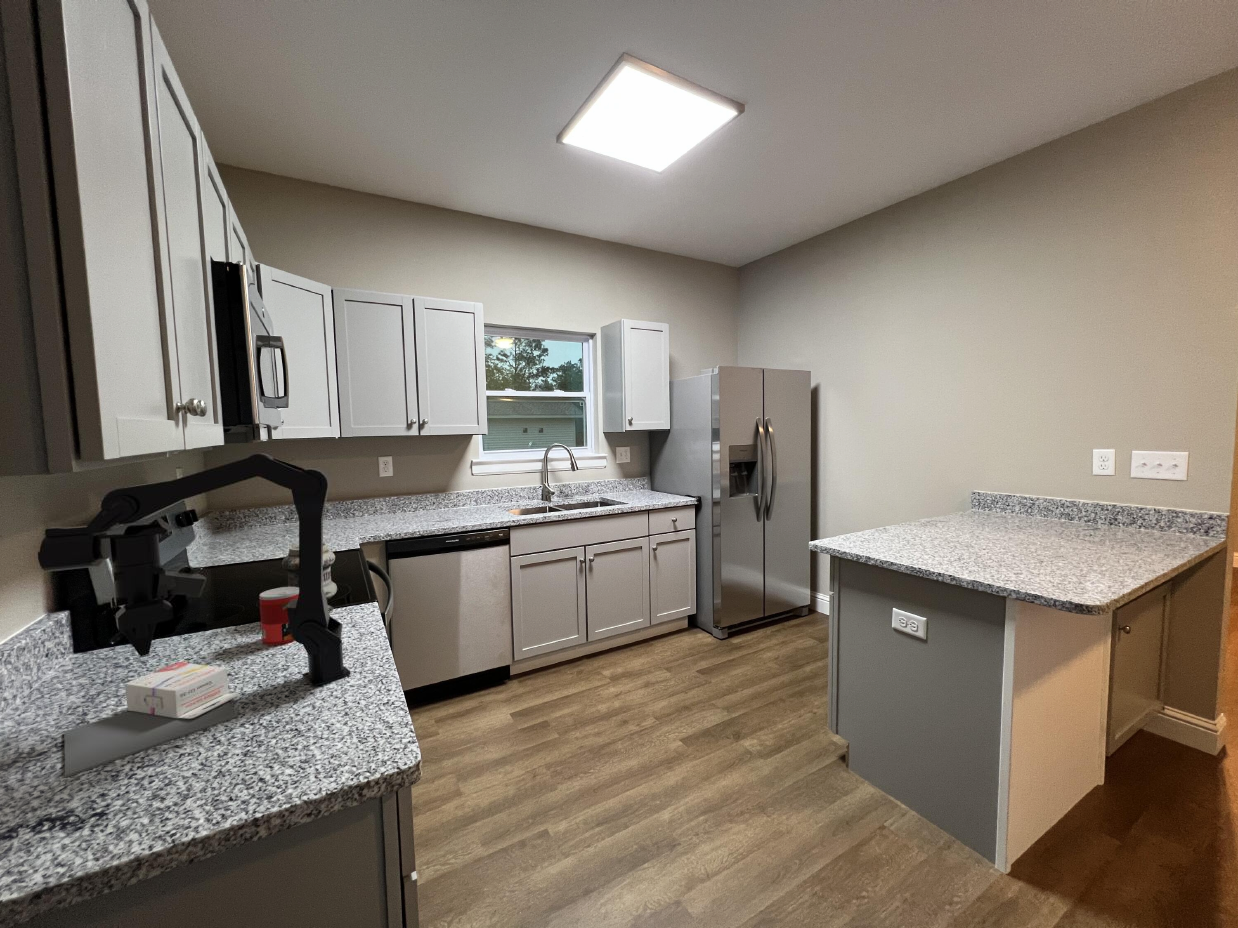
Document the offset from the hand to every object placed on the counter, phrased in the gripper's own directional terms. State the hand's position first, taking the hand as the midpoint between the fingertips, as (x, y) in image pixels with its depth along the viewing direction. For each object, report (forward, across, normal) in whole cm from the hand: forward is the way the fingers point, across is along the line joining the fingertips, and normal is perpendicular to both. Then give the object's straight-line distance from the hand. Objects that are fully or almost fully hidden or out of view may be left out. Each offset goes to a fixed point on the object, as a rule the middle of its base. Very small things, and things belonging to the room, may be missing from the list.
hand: (144, 654), depth 83 cm
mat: (+10, -5, 0) cm, 11 cm away
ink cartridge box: (+7, +5, -1) cm, 9 cm away
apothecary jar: (+10, +33, -34) cm, 48 cm away
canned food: (+10, +19, -24) cm, 32 cm away
